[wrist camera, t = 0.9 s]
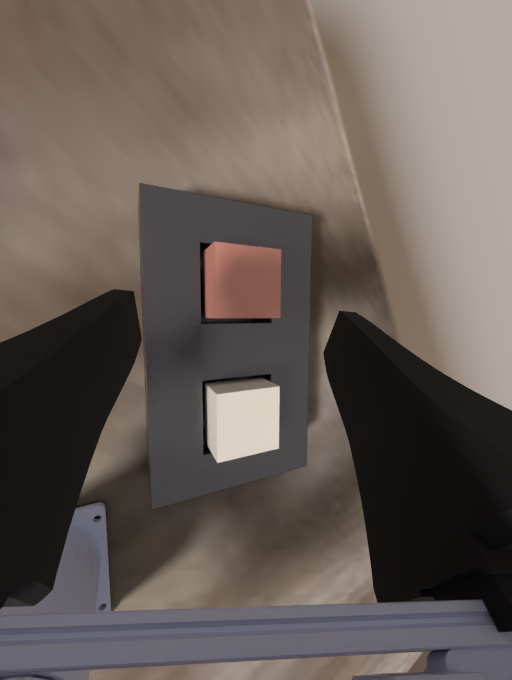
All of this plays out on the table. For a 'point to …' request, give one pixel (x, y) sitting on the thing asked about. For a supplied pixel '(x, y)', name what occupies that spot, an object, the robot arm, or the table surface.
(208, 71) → the table surface
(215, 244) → the red key
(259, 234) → the grey flat block
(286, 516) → the table surface
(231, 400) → the cream key
